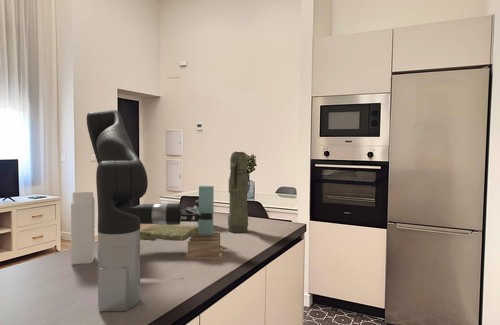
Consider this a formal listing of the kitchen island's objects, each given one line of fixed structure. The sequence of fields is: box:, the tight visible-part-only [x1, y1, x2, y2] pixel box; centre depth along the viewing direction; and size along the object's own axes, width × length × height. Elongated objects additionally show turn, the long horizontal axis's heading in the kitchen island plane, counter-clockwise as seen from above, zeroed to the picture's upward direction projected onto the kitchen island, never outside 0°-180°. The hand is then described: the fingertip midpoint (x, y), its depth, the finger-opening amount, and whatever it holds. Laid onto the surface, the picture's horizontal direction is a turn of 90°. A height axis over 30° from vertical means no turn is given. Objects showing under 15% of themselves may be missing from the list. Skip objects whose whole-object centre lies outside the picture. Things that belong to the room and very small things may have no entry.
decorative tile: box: [140, 224, 199, 241], centre depth 142 cm, size 19×20×4 cm
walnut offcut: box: [193, 236, 217, 238], centre depth 118 cm, size 2×8×5 cm, turn 93°
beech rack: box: [184, 231, 224, 260], centre depth 118 cm, size 16×12×6 cm
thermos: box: [227, 151, 249, 234], centre depth 151 cm, size 9×12×35 cm
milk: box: [70, 191, 96, 265], centre depth 108 cm, size 6×6×22 cm
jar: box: [193, 199, 199, 228], centre depth 160 cm, size 9×8×12 cm
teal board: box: [198, 185, 215, 235], centre depth 121 cm, size 2×5×22 cm, turn 93°
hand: (212, 214), depth 122 cm, fingers open, 8 cm apart
